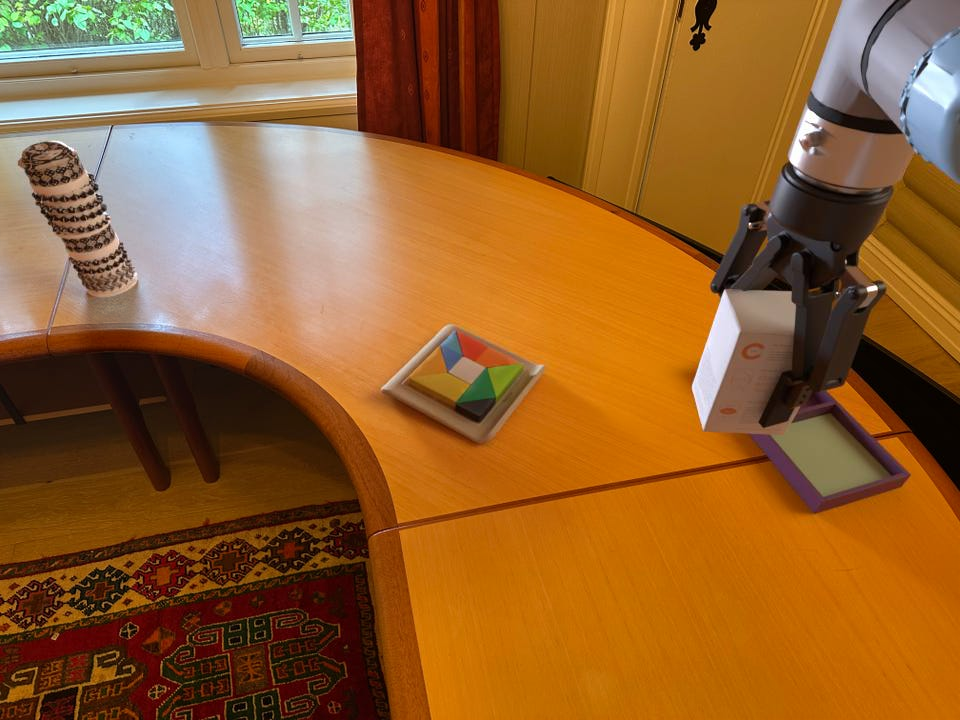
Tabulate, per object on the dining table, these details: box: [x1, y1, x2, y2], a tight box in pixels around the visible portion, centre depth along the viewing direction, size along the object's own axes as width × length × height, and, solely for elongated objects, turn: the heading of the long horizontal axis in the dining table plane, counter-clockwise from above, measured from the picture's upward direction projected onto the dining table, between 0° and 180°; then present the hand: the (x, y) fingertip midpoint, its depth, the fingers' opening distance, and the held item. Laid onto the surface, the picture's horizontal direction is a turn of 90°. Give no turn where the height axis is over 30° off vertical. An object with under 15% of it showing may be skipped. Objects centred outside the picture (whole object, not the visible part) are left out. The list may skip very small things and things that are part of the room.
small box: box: [691, 289, 800, 435], centre depth 57 cm, size 8×6×13 cm
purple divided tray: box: [748, 390, 912, 514], centre depth 83 cm, size 13×26×3 cm, turn 17°
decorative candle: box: [17, 140, 139, 298], centre depth 99 cm, size 9×9×25 cm
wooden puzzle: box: [380, 323, 547, 445], centre depth 88 cm, size 18×19×4 cm
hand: (744, 390), depth 59 cm, fingers closed on small box, 8 cm apart
